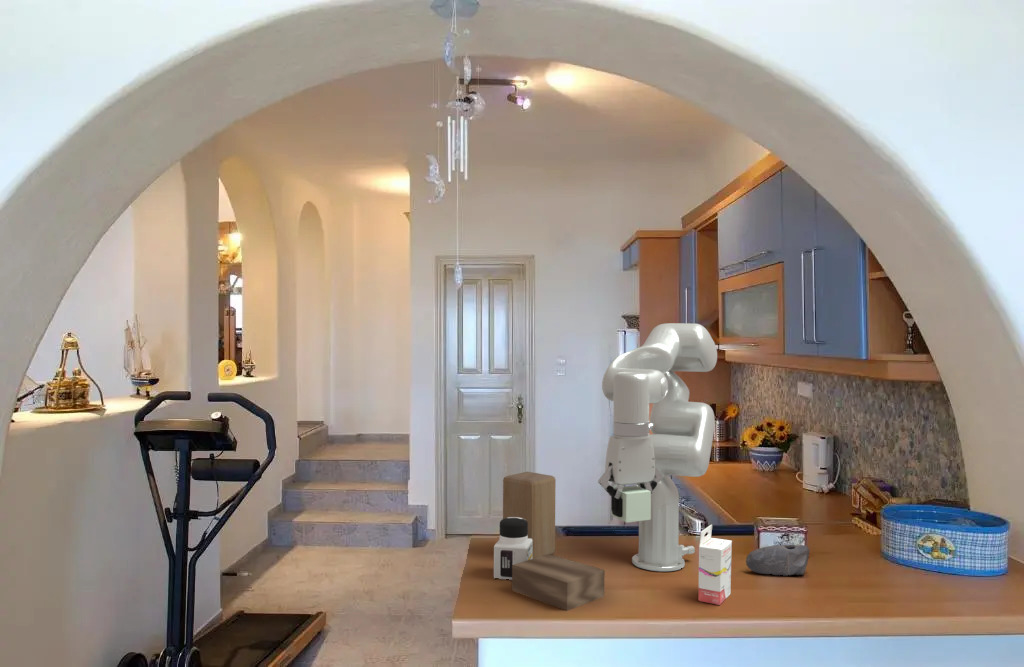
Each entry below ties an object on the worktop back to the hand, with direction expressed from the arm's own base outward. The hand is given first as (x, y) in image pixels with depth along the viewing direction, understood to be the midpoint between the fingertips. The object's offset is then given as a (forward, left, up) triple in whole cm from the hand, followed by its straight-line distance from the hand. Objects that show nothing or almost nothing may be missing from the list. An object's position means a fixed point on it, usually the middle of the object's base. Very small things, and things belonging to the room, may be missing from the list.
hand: (630, 513), depth 162 cm
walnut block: (+13, -8, -18) cm, 24 cm away
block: (+7, -36, -18) cm, 41 cm away
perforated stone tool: (-41, 0, -18) cm, 45 cm away
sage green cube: (0, 0, -1) cm, 1 cm away
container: (+17, -23, -18) cm, 34 cm away
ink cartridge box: (-17, +7, -18) cm, 26 cm away
